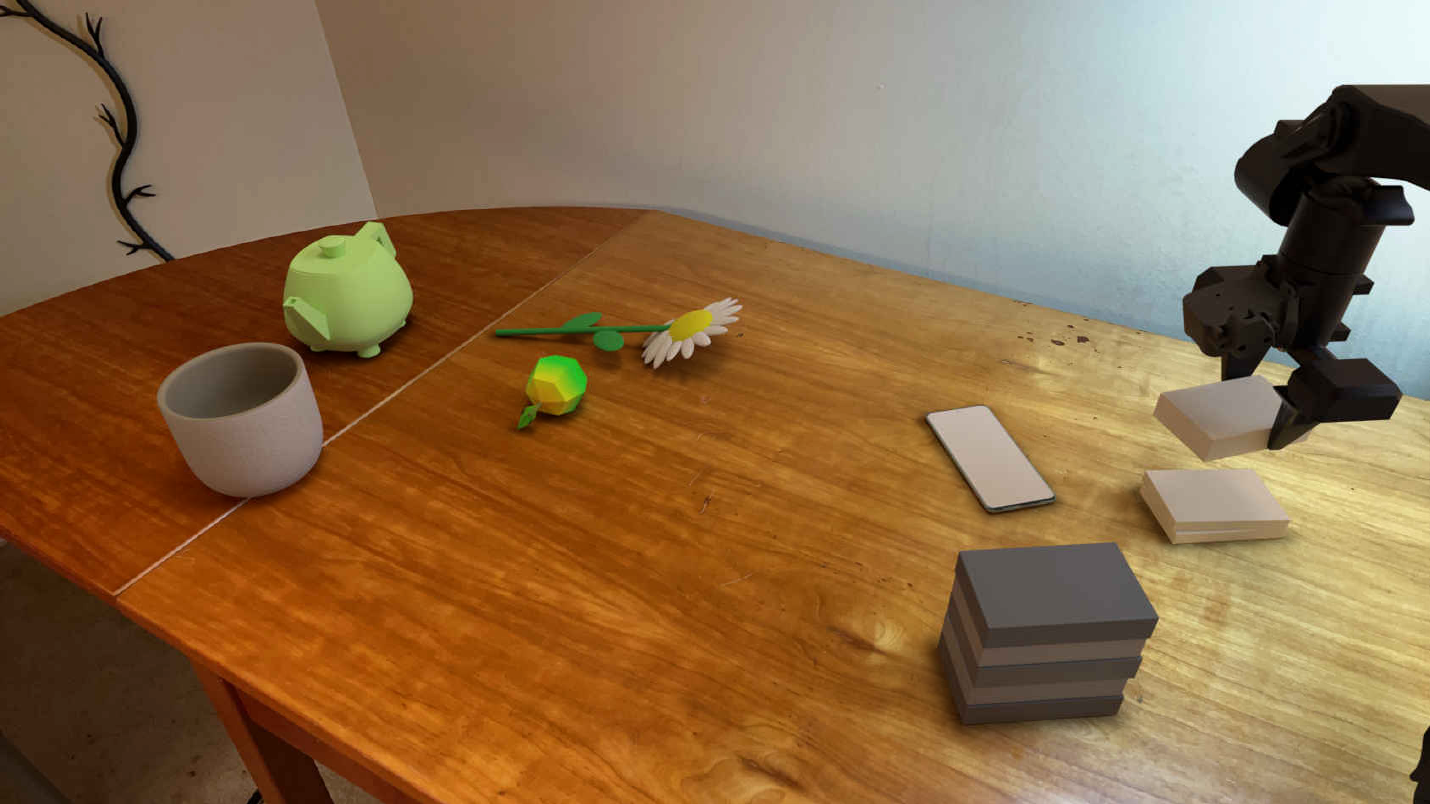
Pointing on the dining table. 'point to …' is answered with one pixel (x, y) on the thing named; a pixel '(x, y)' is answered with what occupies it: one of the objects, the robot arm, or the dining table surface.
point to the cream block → (1222, 416)
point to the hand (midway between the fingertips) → (1249, 421)
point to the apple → (553, 387)
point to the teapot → (347, 292)
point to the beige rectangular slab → (1213, 505)
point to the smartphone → (990, 459)
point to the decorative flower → (663, 339)
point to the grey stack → (1043, 632)
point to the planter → (244, 418)
